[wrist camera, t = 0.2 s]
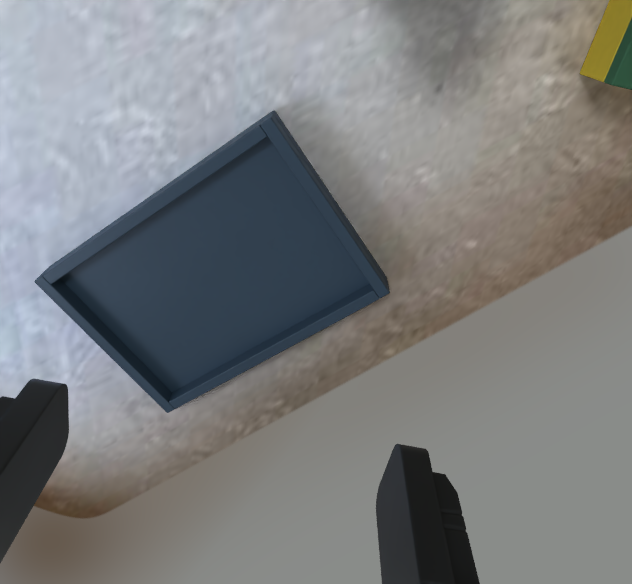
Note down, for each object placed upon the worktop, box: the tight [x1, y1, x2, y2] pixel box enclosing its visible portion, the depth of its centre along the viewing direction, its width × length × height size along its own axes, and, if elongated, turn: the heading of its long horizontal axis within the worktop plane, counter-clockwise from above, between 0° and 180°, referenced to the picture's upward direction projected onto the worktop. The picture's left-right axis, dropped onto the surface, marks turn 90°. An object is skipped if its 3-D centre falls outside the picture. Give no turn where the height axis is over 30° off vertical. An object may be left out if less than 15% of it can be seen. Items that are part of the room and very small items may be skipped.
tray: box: [35, 111, 390, 413], centre depth 37 cm, size 20×14×2 cm
